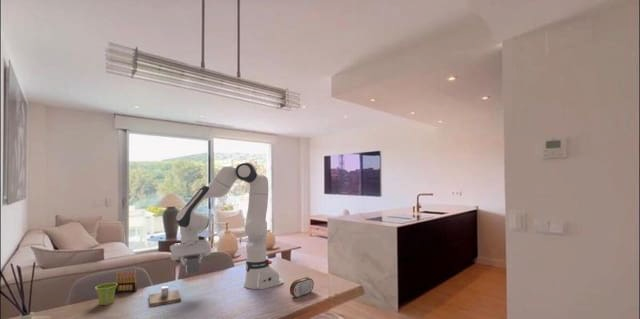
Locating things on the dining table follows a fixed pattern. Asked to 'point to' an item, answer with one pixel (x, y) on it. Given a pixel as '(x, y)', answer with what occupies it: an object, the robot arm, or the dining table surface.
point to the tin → (301, 287)
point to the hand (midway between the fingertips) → (192, 263)
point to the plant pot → (106, 293)
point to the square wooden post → (164, 291)
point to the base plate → (158, 300)
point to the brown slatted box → (126, 282)
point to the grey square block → (192, 264)
